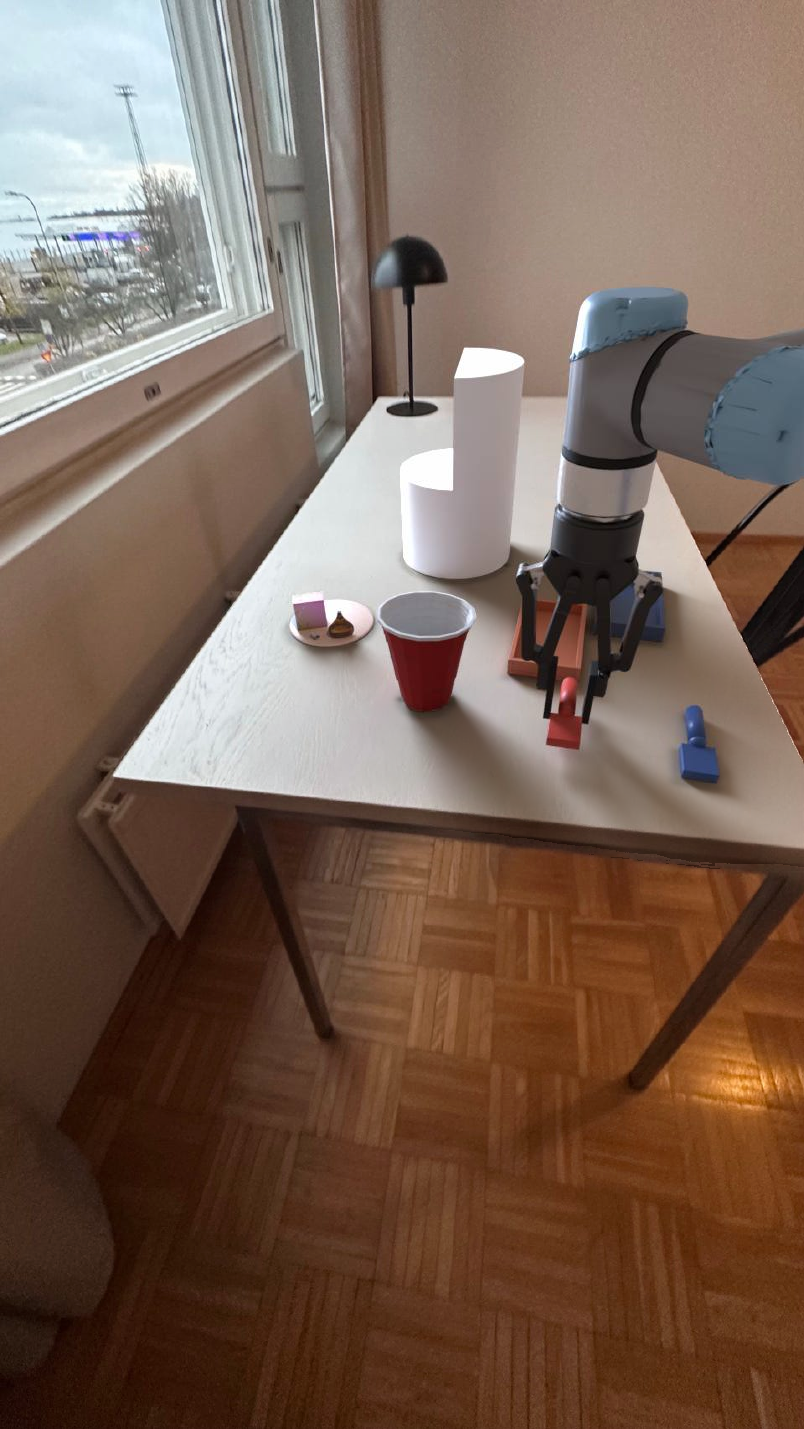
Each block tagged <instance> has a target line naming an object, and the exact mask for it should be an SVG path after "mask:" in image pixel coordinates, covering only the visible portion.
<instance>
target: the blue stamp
mask: <svg viewBox="0 0 804 1429" xmlns="http://www.w3.org/2000/svg"><path fill="white" fill-rule="evenodd" d="M684 717H685V727H686V736H687V743H686V742H681V743H680V745H679V747H678V757H679V758H678V760H679V768H680V778H681V779H687V780H694V781H699V782H700V781H701V782H707V783H714V784H716V783H718V780H719V778H720V770H719V764H718V763H719V762H718V757H717V750H716V747H714V746H707V744H708V742H707V741H708V740H707V735H706V734H707V733H706V725H705V718H704V711H703V708H702V707H700V706H699V705H697V704H690V705H688V706H687V707H686V709H685V711H684Z"/></svg>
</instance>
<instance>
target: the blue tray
mask: <svg viewBox="0 0 804 1429" xmlns="http://www.w3.org/2000/svg"><path fill="white" fill-rule="evenodd" d="M643 571H644V572H646V573H648V574H650V575H651V574H653V573H659V574H660V575H661V576H662V577H663V575H662V572H661V571H651V570H643ZM634 586H635V584H634V583H633V582H632V583H631V584H630V585H629V586H628V587H627V588H625V589H624V590H623V591H622V592H621V593H620V594H619V595H617V596H616V597H615V598H614V599H613V600H612V601H611V637H615V638H623V636H624V633H625V629H626V626H627V623H628V620H629V616H630V613H631V610H632V606H633V603H634V600H635V597H636V596H635V594H634ZM665 614H666V613H665V602H664V592H663V593H662V595H661V596H660V597H659V598H658V600H657V601H656V602H655V603H654V605H653V606H652V607H651V608H650V611H649V614H648V617H647V620H646V623H645V626H644V629H643V632H642V635H641V638H640V641H641V640H642V641H651V642H659V643H660V642H661V643H662V642H663V639H664V636H665V632H666V617H665V616H666V615H665ZM593 620H594V622H593V635H596V636H597V614H596V607H594V619H593Z"/></svg>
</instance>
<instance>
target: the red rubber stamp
mask: <svg viewBox="0 0 804 1429" xmlns="http://www.w3.org/2000/svg"><path fill="white" fill-rule="evenodd" d="M578 687H579V682H577V681H576V680H575V679H574V678H572V677H568V678H565V679H564V680H562V682H561V686H560V694H559V703H558V709H557V712H551V714H550V719H548V727H547V733H546V740H545V745H546V746H549V747H555V748H562V749H568V750H569V749H570V750H576V751H579V750H580V747H581V742H582V741H581V739H582V728H583V724H582V716H580V715H576V708H577V698H578Z"/></svg>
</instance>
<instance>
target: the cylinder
mask: <svg viewBox="0 0 804 1429" xmlns="http://www.w3.org/2000/svg"><path fill="white" fill-rule="evenodd" d="M525 363H526V362H525V360H524V358H523V357H522V356H521V355H519V354H517V353H514V352H510V351H507V350H503V349H502V350H501V349H496V348H485V347H464V348H463V350H462V353H461V357H460V360H459V362H458V366H457V368H456V371H455V374H454V376H453V412H452V413H453V414H452V415H453V419H452V423H453V424H452V448H443V449H436V450H435V449H433V450H430V451H426V452H422V453H419V454H417V455H414V456H411V457H410V458H409V459H407V460H406V461H404V462H403V463H402V465H401V466H400V470H399V471H400V472H399V475H400V478H399V479H400V497H401V498H400V499H401V500H400V502H401V516H402V517H401V521H402V522H401V524H402V525H401V526H402V527H401V528H402V548H403V550H402V552H403V559H404V561H405V563H406V564H407V565H408V566H409V567H410V568H412V570H414V571H416V572H418V573H420V574H423V575H426V576H429V577H435V578H438V579H447V580H466V579H473V578H479V577H483V576H486V575H488V574H492V573H494V572H495V571H497V570H499V569H500V568H502V567H503V566H504V565H505V564H506V563H508V560H509V557H510V551H511V537H512V526H513V514H514V513H513V512H514V502H515V501H514V499H515V498H514V497H515V487H516V486H515V485H516V474H517V463H518V462H517V461H518V451H519V436H520V425H521V411H522V401H523V400H522V399H523V387H524V386H523V385H524V374H525Z"/></svg>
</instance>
